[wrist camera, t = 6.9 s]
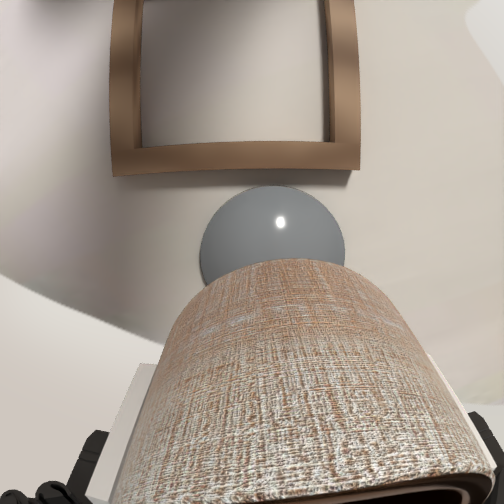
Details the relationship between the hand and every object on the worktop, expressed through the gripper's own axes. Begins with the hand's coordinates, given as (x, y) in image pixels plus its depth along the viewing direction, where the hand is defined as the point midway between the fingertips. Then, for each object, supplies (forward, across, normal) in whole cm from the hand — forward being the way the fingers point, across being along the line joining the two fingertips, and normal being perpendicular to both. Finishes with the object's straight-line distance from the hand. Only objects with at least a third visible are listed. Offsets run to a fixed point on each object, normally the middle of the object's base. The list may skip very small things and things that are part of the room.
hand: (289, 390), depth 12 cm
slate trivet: (+16, 0, 0) cm, 16 cm away
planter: (+2, 0, 0) cm, 2 cm away
